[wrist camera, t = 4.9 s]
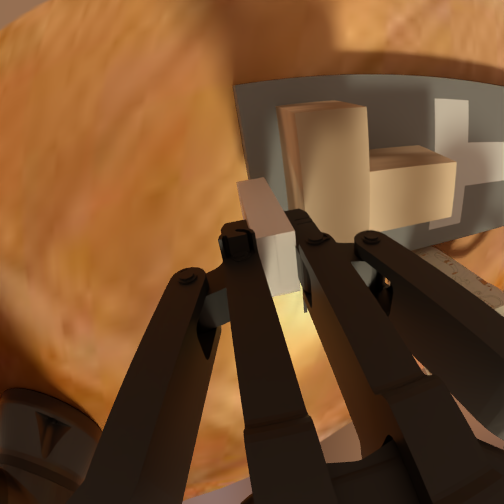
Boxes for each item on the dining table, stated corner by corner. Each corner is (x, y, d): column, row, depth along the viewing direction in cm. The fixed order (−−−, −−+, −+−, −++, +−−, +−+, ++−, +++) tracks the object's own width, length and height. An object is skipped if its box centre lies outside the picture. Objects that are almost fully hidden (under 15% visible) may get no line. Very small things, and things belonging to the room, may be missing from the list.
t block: (293, 259, 21) (310, 296, 18) (275, 106, 16) (294, 112, 13) (413, 233, 22) (443, 261, 18) (417, 97, 17) (458, 106, 13)
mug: (385, 236, 23) (461, 318, 15) (486, 227, 25) (555, 284, 16) (367, 317, 28) (416, 402, 19) (463, 295, 29) (516, 357, 20)
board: (263, 271, 23) (267, 283, 22) (232, 85, 17) (234, 85, 15) (503, 216, 24) (513, 223, 23) (514, 88, 18) (526, 91, 16)
